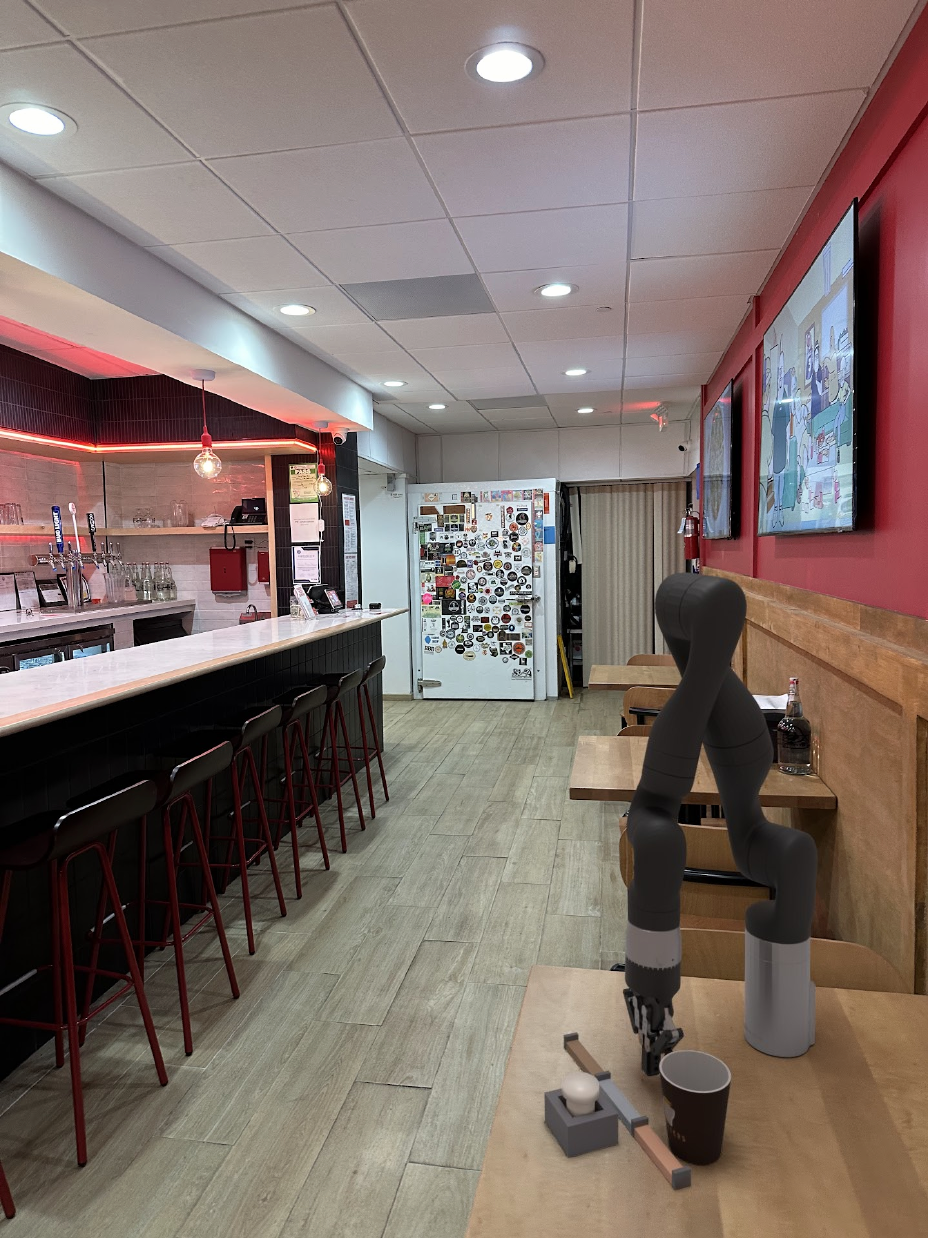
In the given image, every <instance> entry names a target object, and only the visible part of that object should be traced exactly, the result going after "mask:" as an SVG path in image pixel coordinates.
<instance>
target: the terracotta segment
mask: <svg viewBox="0 0 928 1238" xmlns="http://www.w3.org/2000/svg"><path fill="white" fill-rule="evenodd" d="M649 1118H650V1117H648V1115H643V1116H642V1115H641V1117H638V1118H634V1119H631V1132H630V1135H631V1136H632V1137H633V1138H634V1139H635V1140H636V1141H637V1143H638V1144H639V1145H640V1147H641V1148H642V1149H643V1150H644V1152H645V1153H646V1154H647V1155H648V1157H649V1158H650V1159H651V1161H652V1162H653V1163H654V1164H655V1166H656V1167H657V1168H658V1170H659V1171H660V1173H662V1174H663V1176H664V1178H665V1179H666V1180H667V1182H668V1183H669V1184H670V1185H671V1187H672V1189H673V1190H674V1191H677V1190H679V1189H683V1188H686V1187H690V1186H691V1185H692V1169H691V1167H690V1166H689V1165H686V1166H683V1165H682V1164H681V1163H680V1162H679V1160H678V1158H677V1157H676V1156H675V1155H674V1154H673V1153H672V1151H671V1150H670V1148H668V1147H667V1146H666V1144H665V1143H664V1142H663V1141H662V1140H661V1138H660V1137H659V1136H658V1135H657V1133H655V1131H654V1130H653V1128H652V1127H651V1126H650V1125H649V1122H650V1121H649Z"/></svg>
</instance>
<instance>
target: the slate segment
mask: <svg viewBox="0 0 928 1238" xmlns="http://www.w3.org/2000/svg"><path fill="white" fill-rule="evenodd" d="M603 1071H604V1072H600V1073H596V1074H595V1078H596V1079H597V1080H598V1082H599V1090H600V1091H601V1093H602V1094H603V1095H604V1096H605V1098H606V1099H607V1100H608V1101H609V1103H610V1104H611V1105H612V1107H613V1108H614V1109H615V1110H616V1112H617V1113H618V1119H620V1121H621V1122H622V1123H623V1125H624V1126H625V1127H626V1128H627V1130H628V1131H629V1132H630V1133H631V1119H634V1118H638V1117H642V1115H641V1114H640V1113H639V1112H638V1111H637V1109H636V1108H635V1107H634V1106H633V1104H632V1103H631V1102H630V1101H629V1099H628V1098H627V1097H626V1096H625V1094H623V1092H622V1091H621V1089H619V1088H618V1086H617V1085H616V1084H615V1083H614V1081H613V1080H612V1079H611V1078H612V1075H611V1074H612V1072H611V1071H610V1070H603Z"/></svg>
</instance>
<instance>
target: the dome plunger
mask: <svg viewBox="0 0 928 1238" xmlns="http://www.w3.org/2000/svg"><path fill="white" fill-rule="evenodd" d="M561 1088H562V1095H563V1097H564V1098H565V1099H566V1106H567V1110H568V1112H569V1113H570V1115H571V1116H572V1118H574V1117H578V1116H581V1115H585V1114H589V1113H593V1112H595V1101H596V1100H597V1099H598V1097H599V1082H598V1080H597V1079H596V1078H595V1077H594V1076H593V1075H591V1074H588V1073H585V1072H583V1071H573V1072H569V1073H567V1074H565V1075H564V1076H563V1077H562V1079H561Z"/></svg>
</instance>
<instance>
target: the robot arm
mask: <svg viewBox="0 0 928 1238" xmlns="http://www.w3.org/2000/svg"><path fill="white" fill-rule="evenodd" d="M654 598H655V599H654V612H655V618H656V622H657V624H658V628H659V630H660V632H661V635H662V637H663V639H664V641H665V643H666V645H667V647H668V650H669V652H670V654H671V656H672V658H673V661H674V663H675V665H676V667H677V668H676V669H678V673H679V674H680V677H681V679H680V681H679V682H678V685H677V687H676V688H675V690H674V691H673V693H672V694H671V695H670V697H669V698H668V700H667V701H666V702H665V704H664V705H663V707H662V708H661V709H660V711H659V712H658V714H657V716H656V717H655V719H654V720H653V722H652V725H651V728H650V731H649V735H648V739H647V742H646V748H645V753H644V758H643V763H642V768H641V776H640V779H639V781H638V784H637V787H636V789H635V792H634V794H633V797H632V799H631V801H630V805H629V809H628V813H627V817H626V818H627V819H626V826H625V828H626V829H625V830H626V831H625V833H626V836H627V840H628V841H629V844H630V846H631V848H632V851H633V859H634V860H633V861H634V862H633V864H634V865H633V878H632V879H631V881H630V882H629V886H628V894H627V896H628V897H627V923H626V929H625V945H624V946H625V947H624V948H625V950H624V955H625V956H624V981H625V984H626V987H627V988H623V990H622V994H623V998H624V1001H625V1006H626V1009H627V1015H628V1016H629V1020H630V1025H631V1028H632V1032H633V1033H634V1035H637V1036H638V1043H639V1045H640V1046H641V1064H640V1065H641V1068H640V1069H641V1071H642V1072H643V1073H644V1074H645V1076H646V1077H648V1078H650V1077H655V1076H660V1070H659V1064H660V1061H661V1059H662V1055H663V1054H664V1053H665V1050H667V1049H671V1050H672V1051H674V1049H675V1047H677V1045H679V1043H680V1042H681V1040H682V1039H683V1038H684V1036H685V1033H684V1029H682V1027H676V1025H675V1022H674V1020H673V1017H674V1014H675V1010H674V1006H673V998H674V996H675V995H676V994H677V993H678V992H679V991H680V989H681V984H682V983H681V980H682V978H681V977H682V976H681V975H682V931H681V889H682V887H683V881H684V876H685V870H686V865H687V864H686V863H687V853H688V852H687V851H688V850H687V839H686V834H685V832H684V830H683V828H682V826H681V825H680V824H679V823H678V819H679V814H680V809H681V806H682V802H683V799H684V798H685V797H687V796H689V795H690V793H691V792H692V789H693V786H694V784H695V779H696V775H697V770H698V765H699V760H700V756H701V750H702V747H703V749H704V752H705V756H706V758H707V761H708V764H709V765H710V769H711V772H712V774H713V775H712V776H713V778H714V780H715V785H716V788H717V791H718V795H719V799H720V802H721V806H722V810H723V814H724V815H723V816H724V820H725V825H726V830H727V833H728V841H729V843H730V850H731V854H732V858H733V861H734V865H735V867H736V868H737V869H738V871H739V872H740V874H741V875H742V876H743V877H745V878H746V879H749V880H750V881H753V882H756V883H757V884H761V885H764V886H766V887H769V888H773V889H775V897H774V899H768V900H761V901H760V900H759V901H757V902H754V903H752V904H750V905H749V906H747V908H746V910H745V915H744V916H745V917H744V926H745V927H744V948H745V949H744V951H745V952H744V1038H745V1039H746V1041H747V1043H748V1044H749V1045H750V1046H752V1048H755V1049H756V1050H758V1051H759V1052H762V1053H764V1054H767V1055H771V1056H774V1057H780V1058H792V1057H793V1058H794V1057H798V1056H799V1057H800V1056H801V1055H803V1054H805V1053H806V1052H807V1051H808V1050H809V1048H810V1046H812V1045H813V1046H814V1045H815V1043H816V1041H815V1039H816V1038H815V1037H816V1030H815V1029H816V984H815V982H814V981H813V980H811V929H812V923H813V918H814V914H815V907H816V890H817V889H816V888H817V876H818V875H817V874H818V850H817V845H816V842H815V839H814V838H813V837H812V835H810V834H809V833H807V832H805V831H802V830H800V829H797V828H794V827H793V828H792V827H789V826H785V825H782V824H779V823H774V822H771V821H770V820H768V819H767V817H766V816H765V814H764V812H763V809H762V805H761V801H760V792H761V791H760V790H761V788H762V786H763V784H764V782H765V781H766V779H767V777H768V775H769V773H770V772H771V771H770V770H771V768H772V765H773V762H774V757H775V756H774V754H775V753H774V752H775V751H774V746H773V741H772V737H771V734H770V731H769V728H768V724H767V721H766V718H765V715H764V712H763V710H762V708H761V706H760V704H759V703H758V701H757V700H756V698H755V697H754V695H753V693H751V691H750V690H749V689H748V687H747V686H746V685H745V684H744V682H743V681H742V680H741V678H740V677H739V676H738V674H737V673H736V672H735V671H734V669H733V668H732V666H731V665H730V664H731V661H732V659H733V656H734V654H735V651H736V649H737V647H738V643H739V641H740V638H741V635H742V632H743V629H744V626H745V622H746V617H747V609H748V608H747V607H748V604H747V603H748V602H747V599H746V594H745V592H744V591H743V588H742V587H741V586H740V585H739V584H738V583H737V582H735V581H734V580H733V579H730V578H726V577H721V576H714V575H707V574H703V573H702V574H701V573H695V572H676V573H675V572H674V573H672V574H670V575H668V576H667V577H666V578H664V579H663V581H661V582H660V584H659V586H658V588H657V590H656V593H655V597H654Z"/></svg>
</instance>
